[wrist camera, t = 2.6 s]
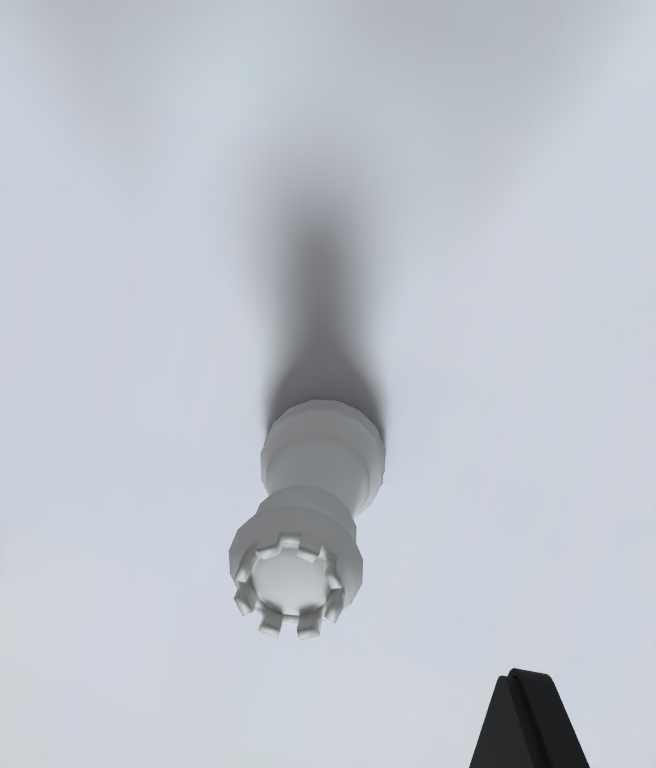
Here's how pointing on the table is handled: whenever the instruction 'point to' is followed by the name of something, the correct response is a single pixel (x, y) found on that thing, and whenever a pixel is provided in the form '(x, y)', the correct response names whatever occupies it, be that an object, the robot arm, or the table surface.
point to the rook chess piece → (308, 517)
